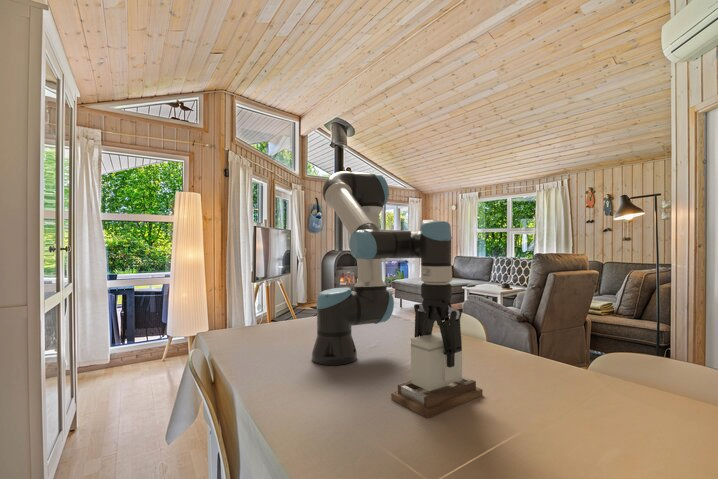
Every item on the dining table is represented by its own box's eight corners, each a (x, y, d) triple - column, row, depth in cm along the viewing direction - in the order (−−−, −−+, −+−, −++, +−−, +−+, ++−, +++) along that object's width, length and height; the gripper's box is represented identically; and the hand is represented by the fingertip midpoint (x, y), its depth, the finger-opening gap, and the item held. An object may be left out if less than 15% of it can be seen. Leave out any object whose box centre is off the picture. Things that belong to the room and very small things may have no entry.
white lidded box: (411, 383, 87) (410, 338, 88) (443, 372, 95) (443, 331, 95) (429, 391, 83) (428, 343, 83) (462, 379, 90) (461, 335, 90)
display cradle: (391, 399, 87) (391, 384, 88) (445, 380, 99) (445, 368, 99) (427, 418, 78) (427, 402, 78) (482, 395, 90) (482, 381, 90)
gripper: (399, 280, 94) (400, 368, 94) (457, 287, 79) (458, 391, 79) (419, 279, 99) (420, 362, 98) (477, 285, 84) (479, 383, 83)
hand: (437, 375), depth 89 cm, fingers closed on white lidded box, 6 cm apart
